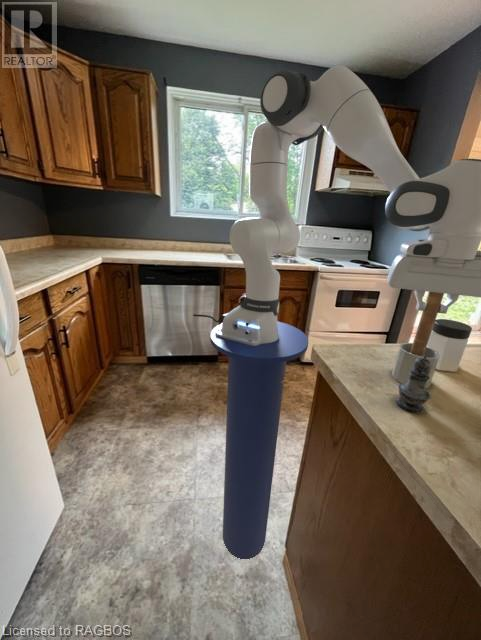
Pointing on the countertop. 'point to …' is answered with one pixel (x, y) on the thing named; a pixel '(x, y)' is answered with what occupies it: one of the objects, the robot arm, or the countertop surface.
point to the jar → (449, 342)
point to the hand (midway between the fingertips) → (430, 311)
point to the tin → (412, 363)
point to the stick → (426, 323)
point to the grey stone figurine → (415, 387)
